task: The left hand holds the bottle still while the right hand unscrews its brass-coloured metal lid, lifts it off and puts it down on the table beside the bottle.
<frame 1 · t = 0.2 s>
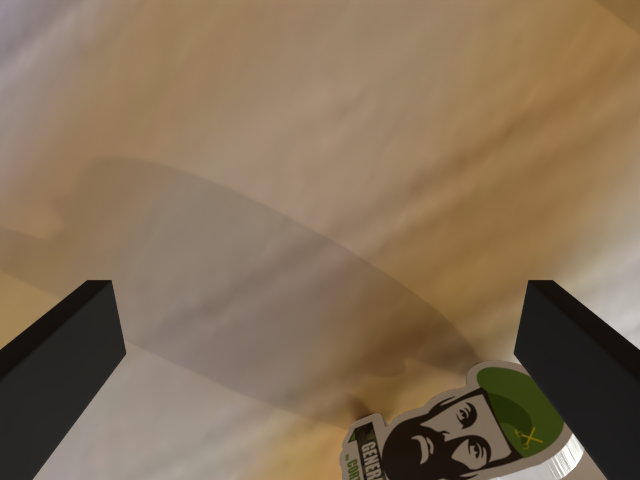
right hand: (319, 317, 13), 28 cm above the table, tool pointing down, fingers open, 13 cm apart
cutout: (430, 394, 49), on the table
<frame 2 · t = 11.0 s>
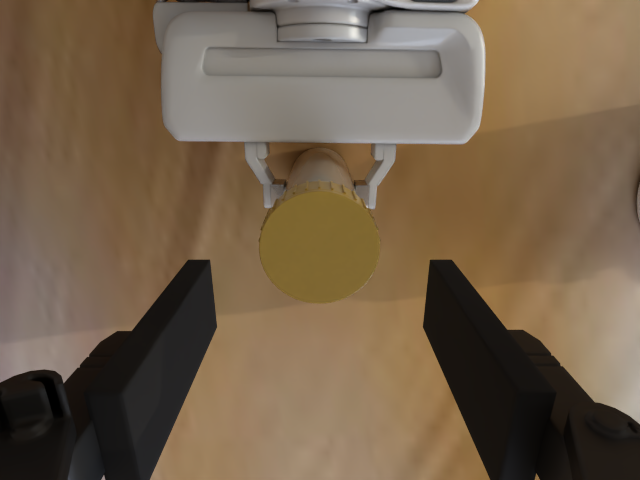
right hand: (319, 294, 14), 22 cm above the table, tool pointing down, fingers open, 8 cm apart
left hand: (320, 206, 29), fingers closed on bottle, 5 cm apart
bottle: (319, 176, 34), on the table, touching left hand
lid: (319, 247, 19), point 17 cm above the table, screwed on, not yet turned
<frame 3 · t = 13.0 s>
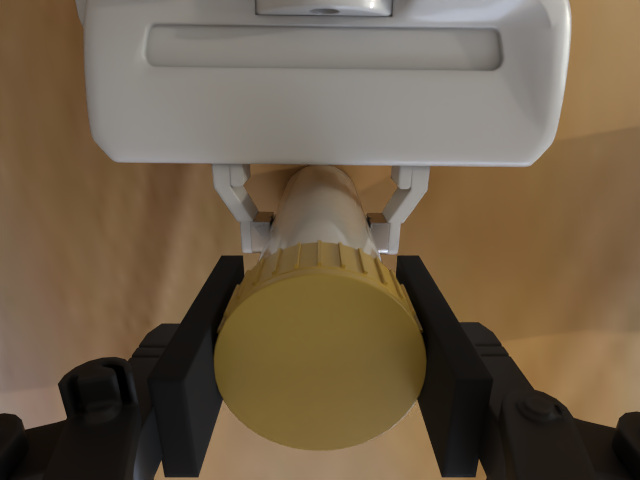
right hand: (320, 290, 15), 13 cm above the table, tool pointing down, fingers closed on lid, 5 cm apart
left hand: (320, 250, 21), fingers closed on bottle, 5 cm apart
bottle: (320, 201, 27), on the table, touching left hand
lid: (320, 362, 11), point 17 cm above the table, screwed on, not yet turned, touching right hand
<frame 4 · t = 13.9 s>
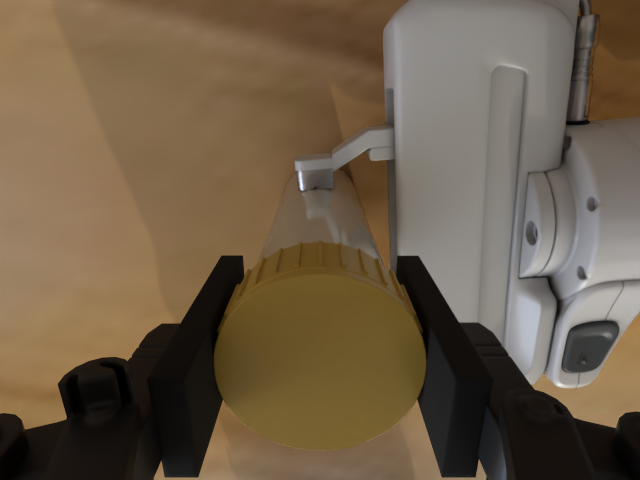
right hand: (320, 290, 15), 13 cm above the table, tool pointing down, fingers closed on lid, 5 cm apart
bottle: (320, 200, 27), on the table, touching left hand
lid: (320, 362, 11), point 17 cm above the table, turned 84° so far, risen 0.3 cm, still on its thread, touching right hand
when the right hand's fingers open (0 cm above the table, at t = 19.6 s): lid drops 2 cm, point 2 cm above the table.
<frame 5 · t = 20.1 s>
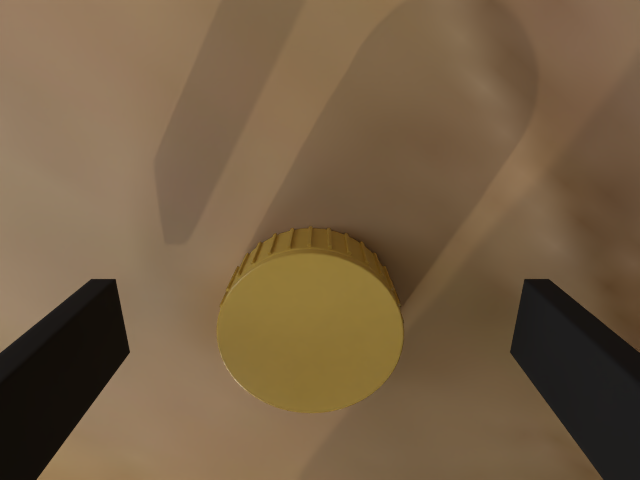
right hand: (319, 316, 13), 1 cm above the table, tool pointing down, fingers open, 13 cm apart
lid: (310, 333, 12), point 2 cm above the table, off its thread
when the left hand's fingers open (7 cm above the table, at t = 20.8 s): bottle stays where it is, on the table.
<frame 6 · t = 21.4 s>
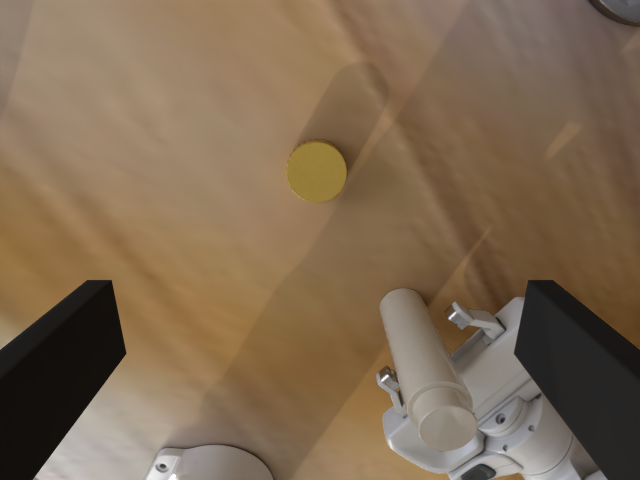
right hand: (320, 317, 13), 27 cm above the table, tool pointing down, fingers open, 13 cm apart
bottle: (401, 308, 44), on the table
lid: (316, 172, 37), point 2 cm above the table, off its thread
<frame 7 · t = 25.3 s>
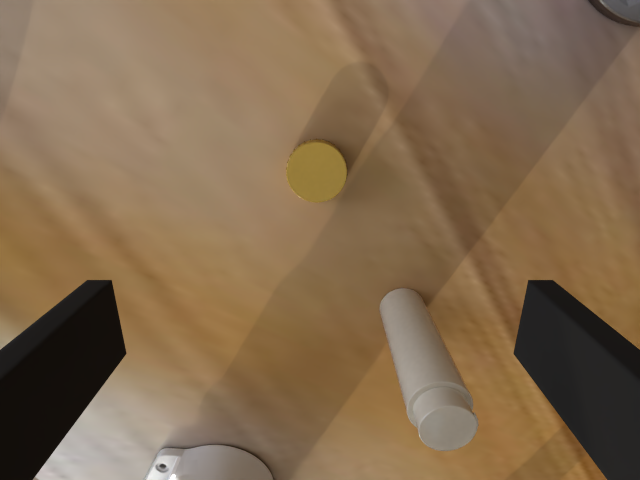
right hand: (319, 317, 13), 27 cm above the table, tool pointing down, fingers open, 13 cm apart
bottle: (401, 308, 44), on the table
lid: (316, 172, 37), point 2 cm above the table, off its thread
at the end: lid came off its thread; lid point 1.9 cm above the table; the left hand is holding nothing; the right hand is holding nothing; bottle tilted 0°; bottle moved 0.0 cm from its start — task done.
